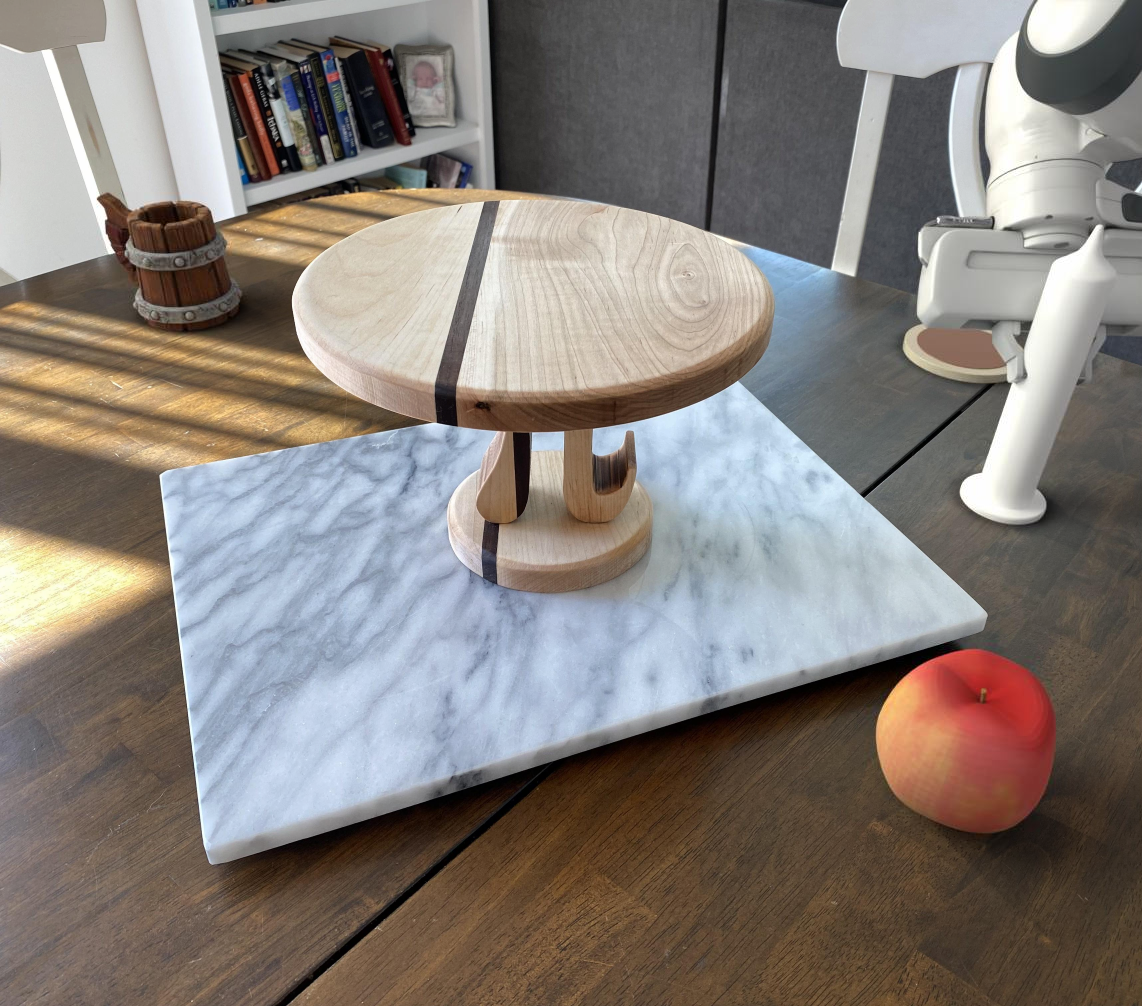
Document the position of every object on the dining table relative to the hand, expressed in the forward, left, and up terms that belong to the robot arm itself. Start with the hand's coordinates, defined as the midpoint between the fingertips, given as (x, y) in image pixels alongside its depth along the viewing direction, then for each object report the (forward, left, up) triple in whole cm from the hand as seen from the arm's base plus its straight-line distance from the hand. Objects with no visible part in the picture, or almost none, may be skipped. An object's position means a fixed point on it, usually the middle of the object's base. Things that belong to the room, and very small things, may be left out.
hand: (1049, 382), depth 75 cm
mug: (+67, -63, -13) cm, 92 cm away
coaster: (-15, -25, -12) cm, 31 cm away
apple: (+25, +23, -13) cm, 36 cm away
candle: (0, -1, -13) cm, 13 cm away
